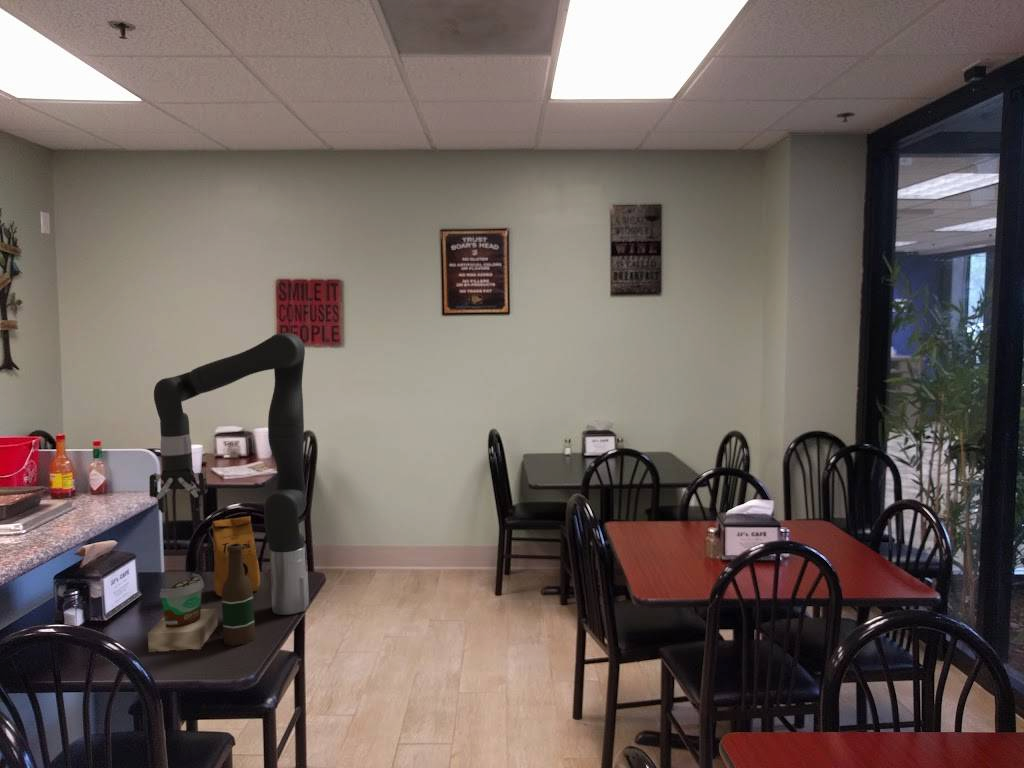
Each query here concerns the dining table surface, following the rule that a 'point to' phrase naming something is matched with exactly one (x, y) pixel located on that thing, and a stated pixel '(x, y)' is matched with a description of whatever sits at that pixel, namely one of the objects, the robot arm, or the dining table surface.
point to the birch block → (183, 633)
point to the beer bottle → (237, 601)
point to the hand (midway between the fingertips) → (180, 511)
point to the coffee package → (223, 537)
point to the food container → (182, 602)
